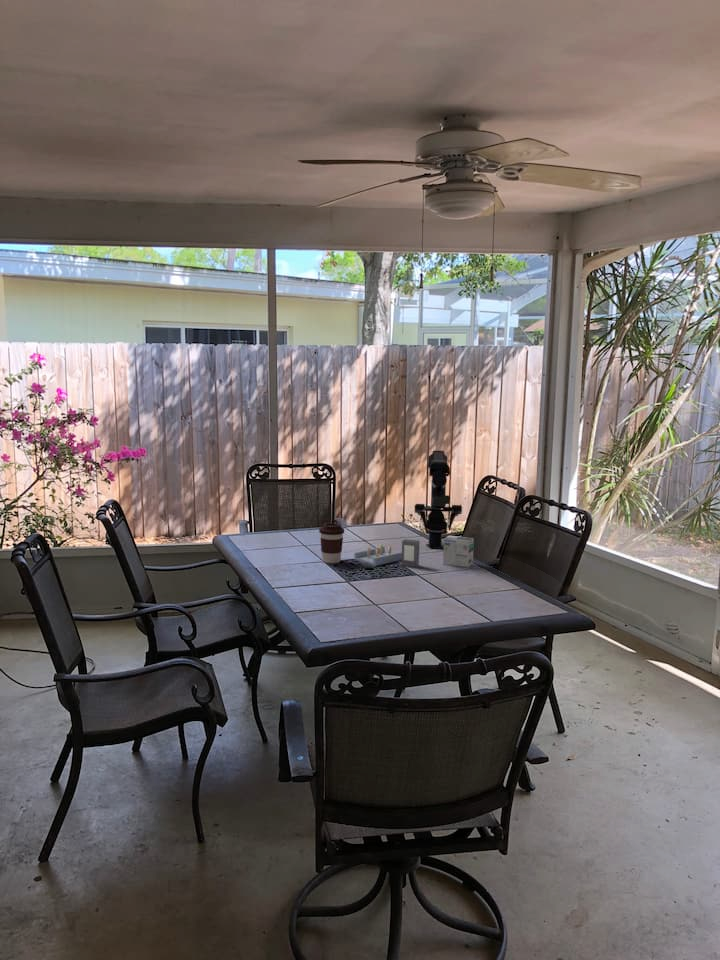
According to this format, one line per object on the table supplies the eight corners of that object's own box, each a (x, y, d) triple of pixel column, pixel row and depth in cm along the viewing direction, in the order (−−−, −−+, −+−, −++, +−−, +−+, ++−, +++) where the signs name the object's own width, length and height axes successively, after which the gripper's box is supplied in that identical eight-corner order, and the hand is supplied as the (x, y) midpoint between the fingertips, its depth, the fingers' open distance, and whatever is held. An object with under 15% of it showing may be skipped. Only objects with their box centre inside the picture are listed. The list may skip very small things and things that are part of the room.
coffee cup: (327, 565, 297) (328, 528, 294) (314, 560, 304) (314, 523, 302) (348, 562, 302) (349, 525, 300) (334, 557, 310) (335, 521, 308)
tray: (382, 553, 317) (383, 541, 317) (403, 559, 309) (403, 547, 308) (354, 559, 307) (354, 547, 306) (375, 565, 298) (375, 553, 297)
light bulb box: (473, 564, 304) (474, 537, 302) (468, 568, 297) (469, 541, 296) (447, 560, 308) (448, 534, 306) (442, 564, 302) (443, 538, 300)
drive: (404, 563, 302) (405, 539, 301) (418, 565, 300) (419, 540, 298) (401, 565, 299) (402, 541, 297) (415, 567, 297) (416, 542, 295)
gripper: (415, 487, 298) (414, 526, 295) (463, 488, 297) (462, 528, 294) (415, 492, 309) (413, 530, 306) (461, 494, 308) (460, 532, 304)
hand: (437, 530), depth 302 cm, fingers open, 9 cm apart
